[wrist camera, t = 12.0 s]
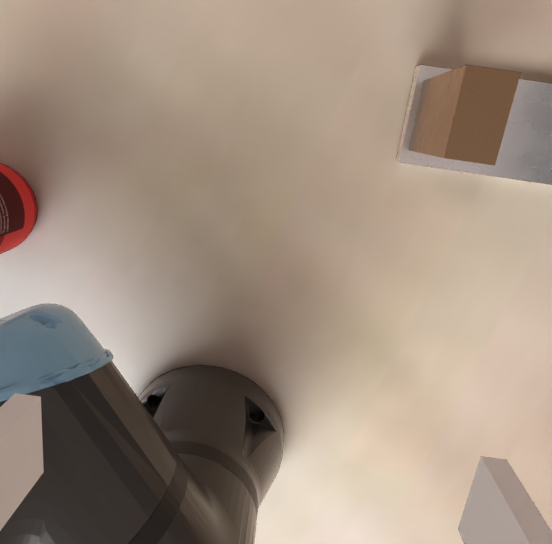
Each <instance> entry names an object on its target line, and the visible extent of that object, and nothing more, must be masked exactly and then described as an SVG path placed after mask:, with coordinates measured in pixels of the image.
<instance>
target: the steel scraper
mask: <svg viewBox="0 0 552 544" xmlns="http://www.w3.org/2000/svg"><path fill="white" fill-rule="evenodd" d="M520 74H521V73H520V72H513V71H506V70H499V69H492V68H485V67H478V66H471V65H464V66H462V67H459V68H456V69H454V70H453V69H446V68H439V67H432V66H425V65H419V66H417V67H416V69H415V73H414V78H413V83H412V87H411V92H410V97H409V102H408V106H407V111H406V116H405V120H404V125H403V130H402V135H401V139H400V144H399V149H398V153H397V158H396V162H399V163H405V164H412V165H419V166H426V167H433V168H440V169H446V170H453V171H460V172H467V173H474V174H481V175H488V176H495V177H502V178H509V179H516V180H523V181H530V182H537V183H544V184H551V185H552V84H551V83H544V82H537V81H530V80H523V79H519V78H520Z"/></svg>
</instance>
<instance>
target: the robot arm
mask: <svg viewBox="0 0 552 544" xmlns="http://www.w3.org/2000/svg"><path fill="white" fill-rule="evenodd" d="M112 359H113V355H112V353H111V352H110V351H109V350H107V349H104V348H103V347H102V346H101V344H100V343H99V342H98V341H97V339H96V338H95V337H94V336H93V334H92V333H91V332H90V331H89V329H88V328H87V327H86V326H85V324H84V323H83V322H82V321H81V319H80V318H79V317H78V316H77V315H76V314H75V313H74V312H73V311H72V310H70V309H69V308H67V307H64V306H62V305H58V304H39V305H35V306H32V307H29V308H27V309H24V310H21V311H19V312H16V313H14V314H11V315H9V316H6V317H4V318H2V319H0V544H254V541H255V532H256V520H257V512H258V508H259V506H260V504H261V502H262V501H263V499H264V497H265V495H266V493H267V492H268V490H269V488H270V486H271V484H272V482H273V481H274V479H275V477H276V475H277V473H278V470H279V467H280V464H281V460H282V454H283V425H282V421H281V418H280V415H279V413H278V410H277V408H276V406H275V405H274V403H273V402H272V400H271V399H270V398H269V396H268V395H267V394H266V393H265V392H264V391H263V390H262V389H261V388H260V387H259V386H258V385H256V384H255V383H254V382H252V381H251V380H249V379H248V378H246V377H244V376H242V375H240V374H238V373H236V372H233V371H231V370H227V369H224V368H220V367H214V366H188V367H183V368H179V369H175V370H172V371H170V372H168V373H166V374H163V375H162V376H160V377H158V378H157V379H155V380H154V381H153V382H152V383H150V384H149V385H148V386H147V387H146V388H145V390H144V391H143V392H142V393H141V395H140V396H139V398H138V397H137V396H136V394H135V393H134V391H133V390H132V389H131V387H130V386H129V384H128V383H127V382H126V380H125V379H124V377H123V376H122V375H121V373H120V372H119V371H118V369H117V368H116V366H115V365H114V364H113V362H112V361H111V360H112ZM458 530H459V533H460V535H461V538H462V540H463V543H464V544H552V531H551V529H550V528H549V526H548V525H547V523H546V521H545V520H544V518H543V517H542V515H541V513H540V512H539V510H538V509H537V507H536V505H535V504H534V502H533V501H532V499H531V498H530V496H529V494H528V493H527V491H526V490H525V488H524V486H523V485H522V483H521V482H520V480H519V478H518V477H517V475H516V474H515V472H514V471H513V469H512V467H511V466H510V464H509V463H508V461H507V460H505V459H497V458H490V457H483V456H481V458H480V461H479V464H478V467H477V470H476V473H475V476H474V480H473V483H472V486H471V489H470V492H469V495H468V498H467V502H466V505H465V508H464V511H463V514H462V517H461V520H460V524H459V527H458Z"/></svg>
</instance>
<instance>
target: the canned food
mask: <svg viewBox="0 0 552 544" xmlns="http://www.w3.org/2000/svg"><path fill="white" fill-rule="evenodd" d="M36 218H37V205H36V199H35V196H34V194H33V191H32V189H31V188H30V186H29V184H28V183H27V182H26V181H25V179H24V178H23V177H22V176H21V175H20V174H18V173H17V172H16V171H15V170H13V169H11V168H9V167H8V166H5V165H2V164H0V254H1V253H3V252H6V251H8V250H10V249H12V248H14V247H16V246H18V245H19V244H21V243H22V242H23V241H24V240H25V239H26V238H27V236H28V235H29V234H30V232H31V231H32V229H33V227H34V225H35V222H36Z"/></svg>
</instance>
